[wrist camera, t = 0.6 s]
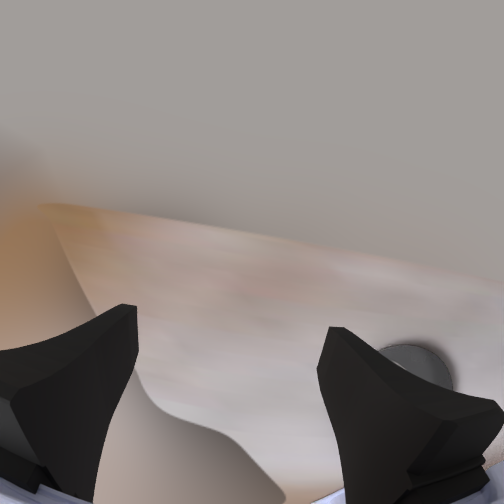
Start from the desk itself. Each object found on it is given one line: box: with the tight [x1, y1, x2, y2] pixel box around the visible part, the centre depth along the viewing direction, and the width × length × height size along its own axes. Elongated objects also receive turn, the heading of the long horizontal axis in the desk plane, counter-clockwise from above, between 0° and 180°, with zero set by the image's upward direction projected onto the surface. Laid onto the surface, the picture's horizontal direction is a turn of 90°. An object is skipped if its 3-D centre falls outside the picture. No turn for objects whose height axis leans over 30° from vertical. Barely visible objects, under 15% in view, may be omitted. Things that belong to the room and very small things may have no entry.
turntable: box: [378, 345, 453, 391], centre depth 28 cm, size 14×14×2 cm
